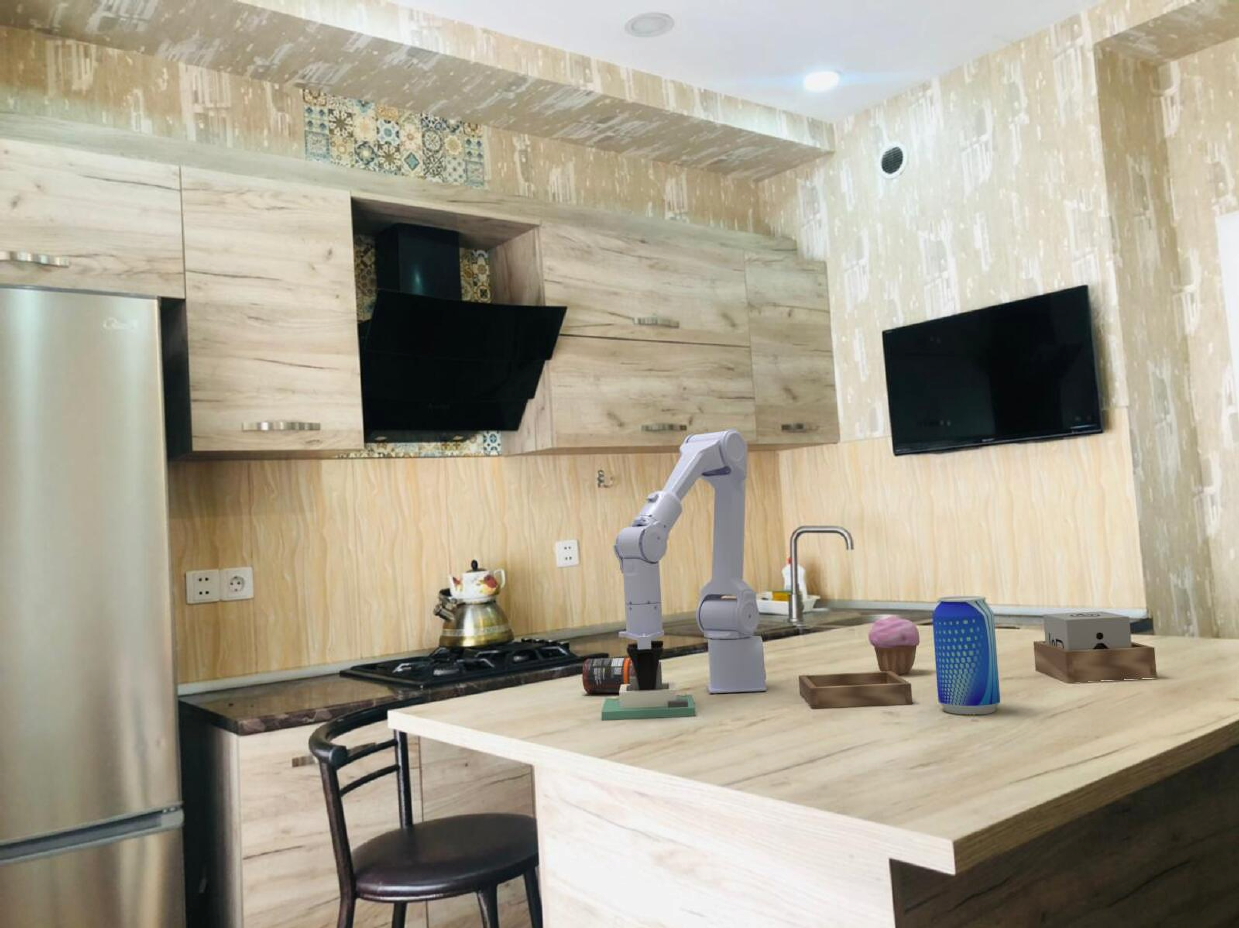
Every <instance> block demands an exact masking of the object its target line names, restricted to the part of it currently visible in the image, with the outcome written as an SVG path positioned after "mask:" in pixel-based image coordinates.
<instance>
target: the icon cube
mask: <svg viewBox="0 0 1239 928" xmlns="http://www.w3.org/2000/svg"><path fill="white" fill-rule="evenodd" d="M1042 615H1043V627H1044V629H1043V630H1044V641H1045V643H1047V644H1050V645H1053V646H1056V647H1059V648H1062V649H1066V650H1069V651H1073V650H1094V649H1115V648H1132V644H1131V642H1132V634H1131V623H1130V620H1131V619H1130V616H1128V615H1127V616H1126V615H1121V614H1117V613H1113V612H1107V611H1084V612H1066V613H1065V612H1064V613H1063V612H1062V613H1048V614H1047V613H1045V614H1044V613H1043V614H1042Z"/></svg>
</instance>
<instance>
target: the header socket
mask: <svg viewBox="0 0 1239 928" xmlns="http://www.w3.org/2000/svg"><path fill="white" fill-rule="evenodd" d="M662 688H663V690H641V691H630V684H624V685H621V687H620V691H619V693H618V694H619V695H618V696H619V697H618V698H619V699H620V709H622V708H643V707H665V706H668V701H676V695H677V688H676V682H675V681H670V682H667V681H666V682H662Z"/></svg>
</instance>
